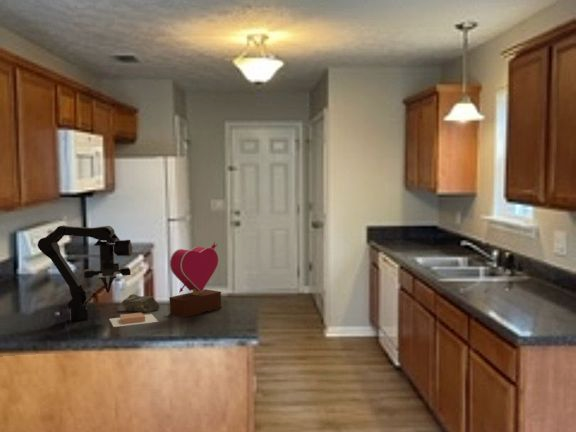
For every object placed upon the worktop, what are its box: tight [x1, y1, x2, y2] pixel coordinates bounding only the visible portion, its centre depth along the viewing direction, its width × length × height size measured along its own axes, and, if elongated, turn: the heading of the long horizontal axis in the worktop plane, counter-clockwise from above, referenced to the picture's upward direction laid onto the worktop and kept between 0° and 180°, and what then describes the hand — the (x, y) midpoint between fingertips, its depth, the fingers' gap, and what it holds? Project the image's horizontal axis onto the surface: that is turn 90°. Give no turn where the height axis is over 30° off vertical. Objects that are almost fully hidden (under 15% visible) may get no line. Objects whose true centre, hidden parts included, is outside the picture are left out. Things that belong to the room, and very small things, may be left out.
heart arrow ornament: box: [168, 242, 223, 318], centre depth 270 cm, size 25×10×30 cm, turn 141°
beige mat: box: [108, 313, 159, 328], centre depth 254 cm, size 18×15×1 cm
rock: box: [121, 293, 160, 313], centre depth 272 cm, size 17×7×10 cm
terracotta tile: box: [119, 312, 145, 324], centre depth 254 cm, size 2×8×9 cm
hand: (107, 292), depth 256 cm, fingers closed
